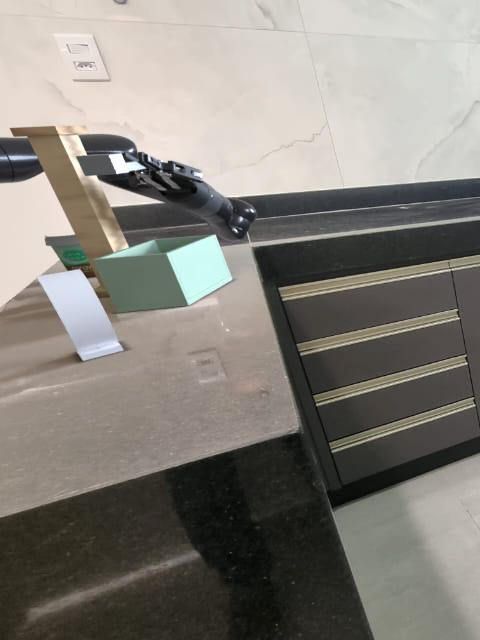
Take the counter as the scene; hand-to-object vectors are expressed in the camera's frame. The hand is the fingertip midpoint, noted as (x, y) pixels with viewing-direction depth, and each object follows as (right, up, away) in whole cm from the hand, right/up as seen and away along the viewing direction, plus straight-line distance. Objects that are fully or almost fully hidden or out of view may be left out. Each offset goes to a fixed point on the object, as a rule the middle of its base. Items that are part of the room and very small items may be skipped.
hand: (132, 157), depth 99 cm
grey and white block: (+1, -3, -2) cm, 4 cm away
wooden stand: (-15, -23, +13) cm, 31 cm away
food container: (-35, -18, +27) cm, 48 cm away
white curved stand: (+14, -37, -19) cm, 44 cm away
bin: (+2, -25, +8) cm, 26 cm away
